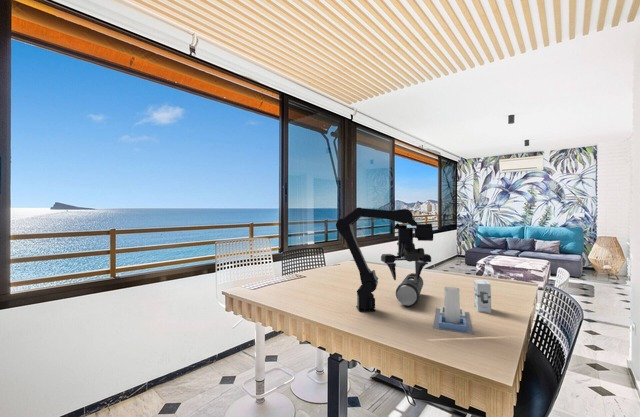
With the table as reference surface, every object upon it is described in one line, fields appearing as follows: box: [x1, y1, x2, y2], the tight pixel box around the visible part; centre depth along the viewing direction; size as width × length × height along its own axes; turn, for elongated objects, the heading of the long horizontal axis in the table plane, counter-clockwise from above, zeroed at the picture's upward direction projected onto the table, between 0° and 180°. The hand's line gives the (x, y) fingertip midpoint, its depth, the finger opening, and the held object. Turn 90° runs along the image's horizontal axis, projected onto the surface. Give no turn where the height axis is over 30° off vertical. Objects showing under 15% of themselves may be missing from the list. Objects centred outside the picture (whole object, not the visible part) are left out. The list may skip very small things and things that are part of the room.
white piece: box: [443, 286, 461, 325], centre depth 99 cm, size 5×5×12 cm
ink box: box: [473, 279, 492, 314], centre depth 116 cm, size 9×5×12 cm, turn 160°
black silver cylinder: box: [395, 272, 424, 307], centre depth 131 cm, size 10×28×10 cm, turn 156°
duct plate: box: [432, 306, 474, 335], centre depth 104 cm, size 24×12×2 cm, turn 155°
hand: (406, 279), depth 113 cm, fingers open, 9 cm apart
